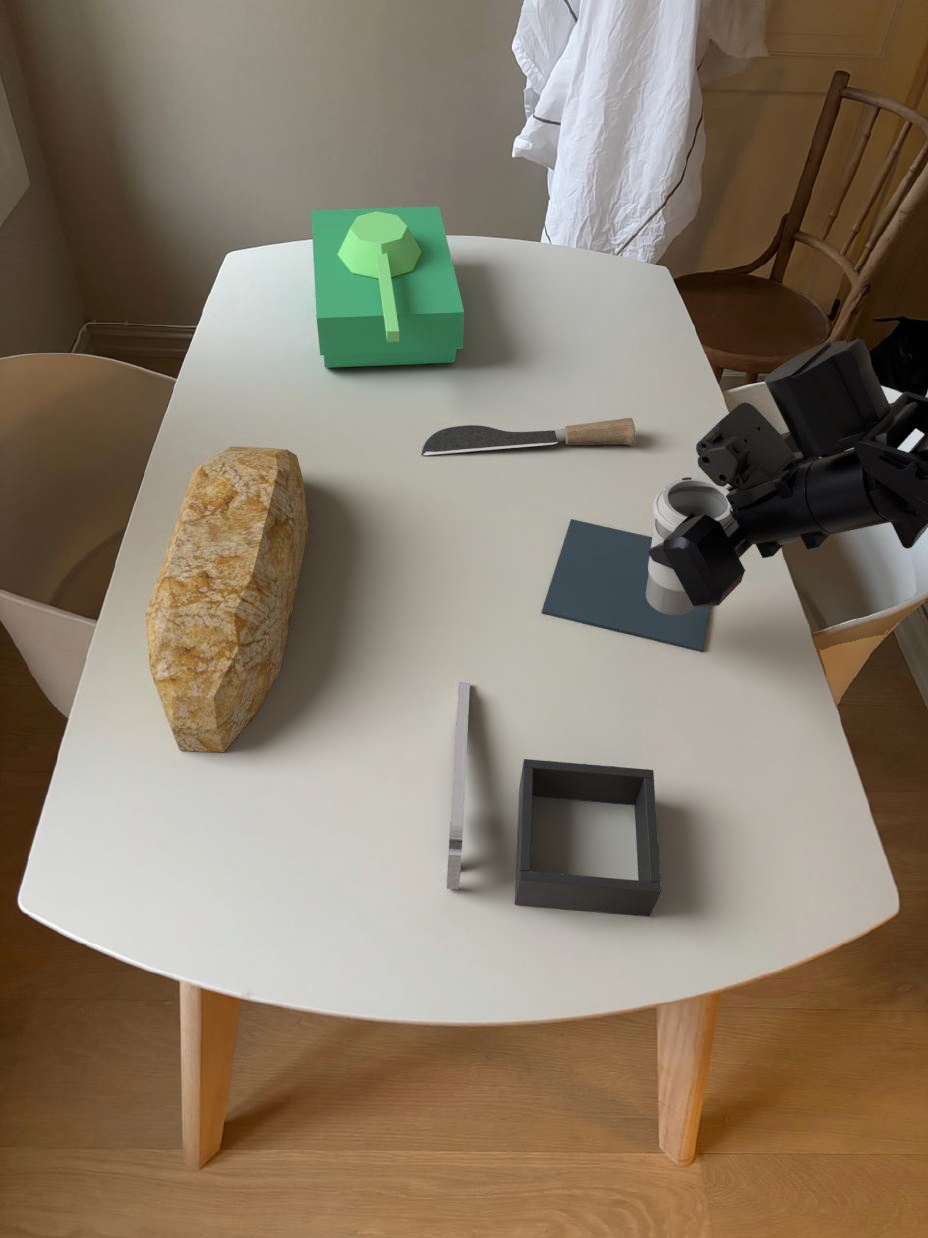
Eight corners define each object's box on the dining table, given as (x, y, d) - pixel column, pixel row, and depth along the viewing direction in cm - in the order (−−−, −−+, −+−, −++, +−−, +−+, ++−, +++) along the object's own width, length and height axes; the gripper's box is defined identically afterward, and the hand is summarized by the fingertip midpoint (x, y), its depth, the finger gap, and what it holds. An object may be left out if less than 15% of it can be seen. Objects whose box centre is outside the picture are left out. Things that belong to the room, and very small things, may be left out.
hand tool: (417, 419, 110) (626, 402, 112) (419, 440, 113) (624, 423, 114) (421, 447, 107) (637, 429, 108) (422, 468, 109) (634, 451, 110)
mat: (717, 554, 100) (718, 551, 99) (702, 652, 91) (703, 649, 90) (570, 521, 102) (571, 518, 102) (541, 613, 93) (541, 610, 93)
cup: (693, 566, 90) (722, 468, 81) (720, 618, 85) (754, 520, 76) (622, 576, 89) (644, 478, 80) (646, 629, 84) (672, 531, 75)
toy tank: (315, 326, 103) (308, 182, 126) (324, 417, 113) (316, 268, 135) (474, 319, 105) (439, 179, 128) (470, 409, 114) (438, 264, 137)
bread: (220, 476, 105) (204, 402, 97) (318, 481, 105) (310, 407, 97) (136, 748, 81) (108, 678, 74) (263, 754, 81) (247, 685, 74)
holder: (643, 797, 80) (653, 769, 76) (650, 917, 73) (661, 892, 70) (519, 787, 80) (523, 758, 77) (514, 905, 73) (519, 879, 70)
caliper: (459, 893, 74) (462, 856, 69) (446, 892, 74) (448, 855, 69) (469, 685, 87) (472, 642, 82) (458, 685, 87) (460, 642, 82)
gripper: (840, 347, 72) (688, 406, 85) (714, 459, 63) (564, 508, 76) (898, 471, 75) (742, 511, 88) (786, 598, 65) (629, 622, 78)
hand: (673, 534), depth 82 cm, fingers closed on cup, 7 cm apart
